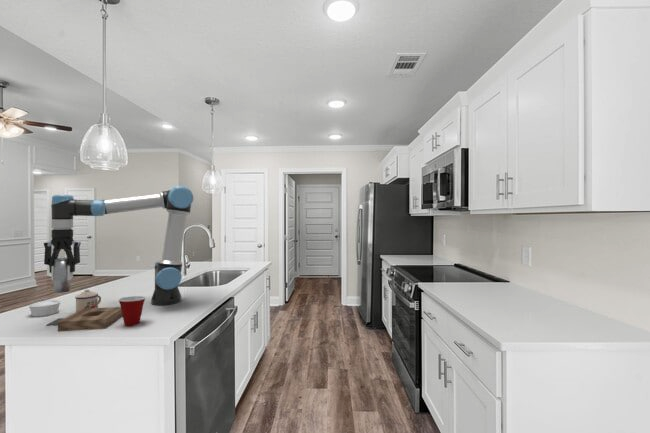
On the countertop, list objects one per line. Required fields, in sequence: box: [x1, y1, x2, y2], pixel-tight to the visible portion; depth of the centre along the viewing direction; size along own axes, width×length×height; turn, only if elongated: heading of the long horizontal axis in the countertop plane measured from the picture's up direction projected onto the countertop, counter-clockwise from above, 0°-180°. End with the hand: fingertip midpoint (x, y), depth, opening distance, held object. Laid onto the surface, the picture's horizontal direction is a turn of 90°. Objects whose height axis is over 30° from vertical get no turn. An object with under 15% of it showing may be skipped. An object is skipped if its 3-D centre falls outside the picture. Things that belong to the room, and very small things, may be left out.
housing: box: [57, 306, 123, 332], centre depth 140 cm, size 18×18×4 cm
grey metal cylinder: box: [53, 257, 71, 294], centre depth 140 cm, size 6×6×15 cm
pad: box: [46, 317, 65, 327], centre depth 140 cm, size 8×8×1 cm
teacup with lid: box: [74, 288, 102, 313], centre depth 154 cm, size 12×9×12 cm
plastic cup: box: [117, 295, 147, 327], centre depth 138 cm, size 11×11×12 cm
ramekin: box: [28, 299, 61, 318], centre depth 151 cm, size 11×11×5 cm
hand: (62, 279), depth 140 cm, fingers closed on grey metal cylinder, 6 cm apart
